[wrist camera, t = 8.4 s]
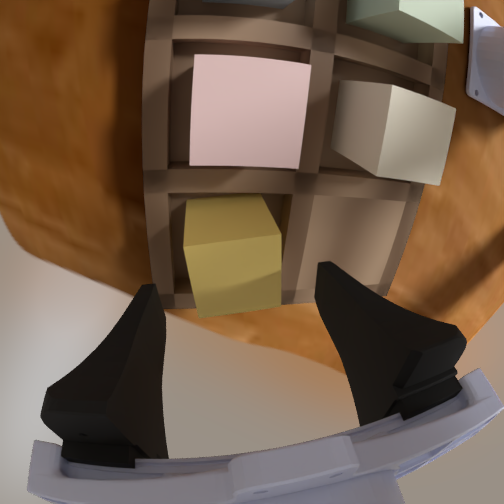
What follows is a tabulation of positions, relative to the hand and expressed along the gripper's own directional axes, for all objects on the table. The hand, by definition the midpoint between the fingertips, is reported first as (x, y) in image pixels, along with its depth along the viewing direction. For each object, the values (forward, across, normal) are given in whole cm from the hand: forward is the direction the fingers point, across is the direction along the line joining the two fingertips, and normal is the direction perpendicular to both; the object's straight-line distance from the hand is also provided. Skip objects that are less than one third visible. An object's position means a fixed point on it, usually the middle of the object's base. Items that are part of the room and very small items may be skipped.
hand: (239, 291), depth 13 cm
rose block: (+5, -1, -7) cm, 9 cm away
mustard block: (+5, 0, 0) cm, 5 cm away
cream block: (+5, -8, -6) cm, 12 cm away
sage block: (+5, -9, -14) cm, 17 cm away
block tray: (+6, -5, -7) cm, 10 cm away
